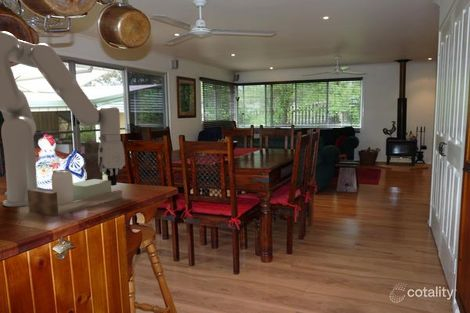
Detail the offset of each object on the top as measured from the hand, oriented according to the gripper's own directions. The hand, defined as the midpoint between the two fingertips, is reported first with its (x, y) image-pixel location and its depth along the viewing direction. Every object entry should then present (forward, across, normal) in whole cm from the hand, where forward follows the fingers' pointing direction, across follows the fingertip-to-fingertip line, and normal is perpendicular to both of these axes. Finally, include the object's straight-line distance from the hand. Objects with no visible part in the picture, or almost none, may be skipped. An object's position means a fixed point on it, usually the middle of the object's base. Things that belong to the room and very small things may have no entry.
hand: (112, 185), depth 146 cm
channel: (+4, -16, 0) cm, 16 cm away
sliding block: (+3, -11, 0) cm, 11 cm away
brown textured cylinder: (+4, +12, +24) cm, 27 cm away
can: (+4, -22, 0) cm, 22 cm away
